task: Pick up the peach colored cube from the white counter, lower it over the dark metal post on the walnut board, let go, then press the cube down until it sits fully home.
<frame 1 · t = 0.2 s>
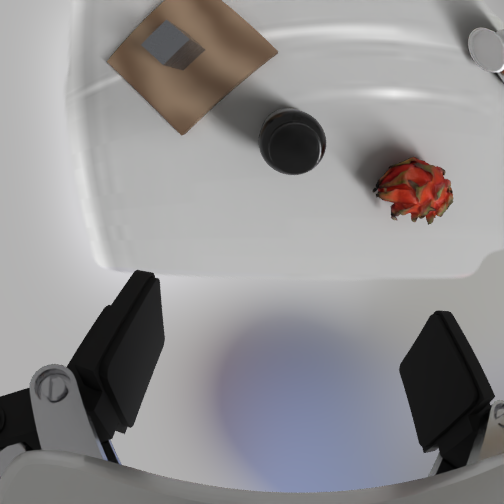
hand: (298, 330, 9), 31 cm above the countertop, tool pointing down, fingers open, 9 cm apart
spread jar: (493, 58, 24), on the countertop
walnut board: (187, 52, 30), on the countertop
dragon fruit: (403, 182, 36), on the countertop
metal post: (175, 46, 26), on the walnut board, point 5 cm above the countertop
supplement bottle: (288, 133, 35), on the countertop
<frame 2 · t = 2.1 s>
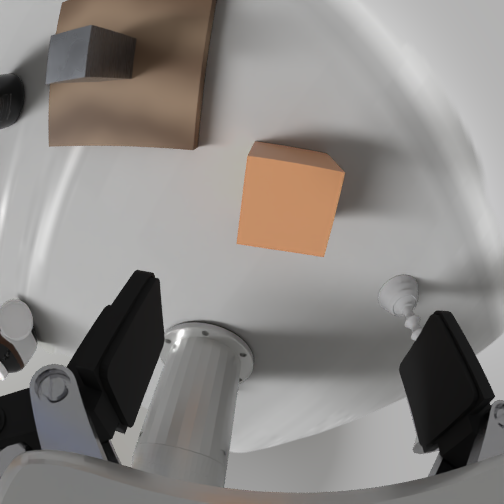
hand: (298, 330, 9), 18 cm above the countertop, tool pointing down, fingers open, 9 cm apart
spread jar: (23, 317, 39), on the countertop
walnut board: (123, 61, 20), on the countertop
metal post: (93, 57, 16), on the walnut board, point 5 cm above the countertop
supplement bottle: (10, 99, 21), on the countertop
chalice: (398, 292, 30), on the countertop
peach colored cube: (285, 181, 25), on the countertop
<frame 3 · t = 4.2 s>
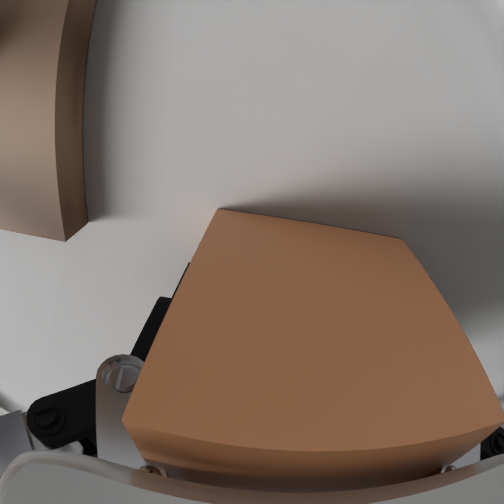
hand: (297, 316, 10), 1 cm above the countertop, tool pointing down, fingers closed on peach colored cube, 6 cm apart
peach colored cube: (296, 301, 11), on the countertop, touching gripper
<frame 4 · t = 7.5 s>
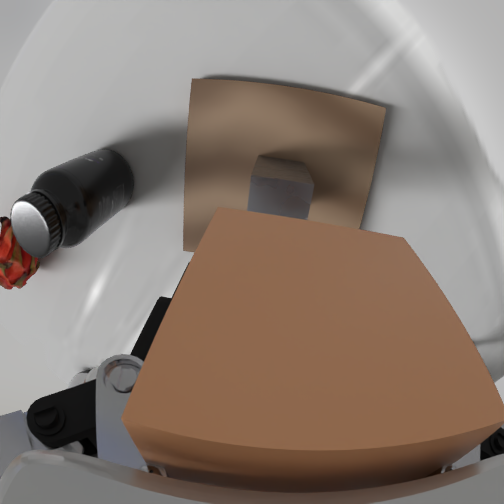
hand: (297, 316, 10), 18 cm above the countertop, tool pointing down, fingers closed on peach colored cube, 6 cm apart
spread jar: (104, 377, 44), on the countertop
walnut board: (278, 176, 25), on the countertop
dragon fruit: (29, 240, 31), on the countertop
metal post: (278, 192, 21), on the walnut board, point 5 cm above the countertop
supplement bottle: (107, 179, 27), on the countertop
peach colored cube: (297, 300, 10), point 17 cm above the countertop, touching gripper
when the fingers open (4 cm above the countertop, at t = 10.6 s): peach colored cube drops 1 cm, resting on metal post.
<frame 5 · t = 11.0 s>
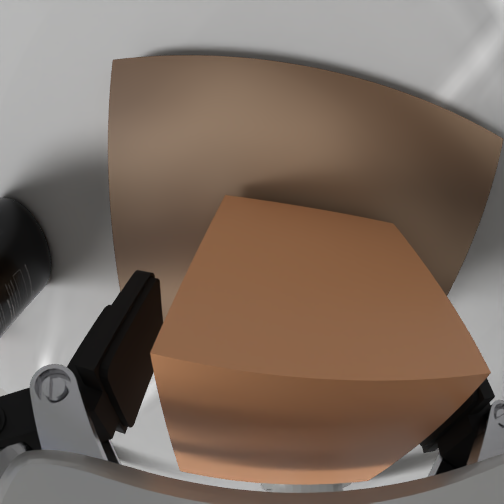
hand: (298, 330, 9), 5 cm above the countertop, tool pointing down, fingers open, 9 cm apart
walnut board: (293, 256, 13), on the countertop
supplement bottle: (21, 241, 15), on the countertop
peach colored cube: (297, 281, 11), point 2 cm above the countertop, touching metal post
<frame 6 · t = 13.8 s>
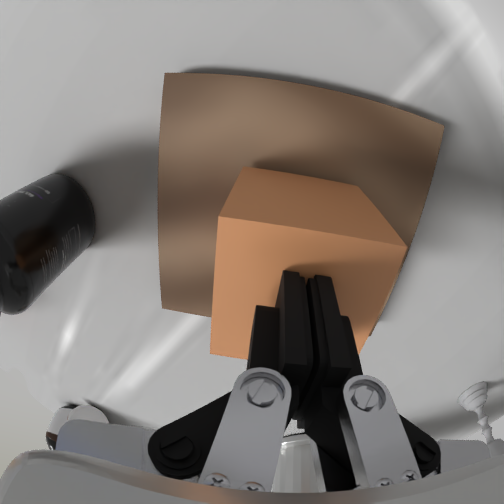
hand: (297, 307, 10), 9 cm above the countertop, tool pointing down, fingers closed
spread jar: (88, 412, 37), on the countertop
walnut board: (289, 215, 18), on the countertop
supplement bottle: (65, 211, 20), on the countertop
chalice: (472, 392, 28), on the countertop
peach colored cube: (292, 228, 16), point 2 cm above the countertop, touching gripper, metal post
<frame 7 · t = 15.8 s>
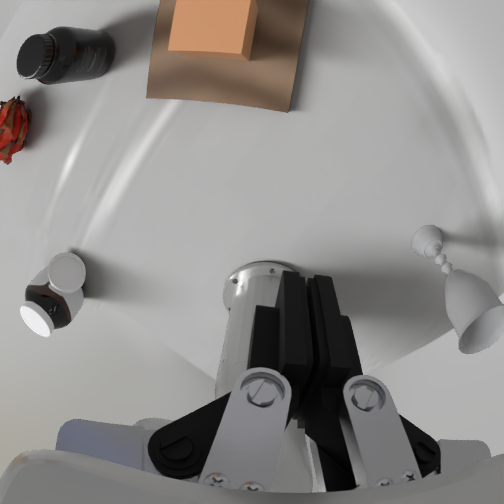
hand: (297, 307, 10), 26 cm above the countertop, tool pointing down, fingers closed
spread jar: (69, 273, 46), on the countertop
walnut board: (226, 36, 25), on the countertop
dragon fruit: (21, 124, 31), on the countertop
supplement bottle: (95, 55, 26), on the countertop
chalice: (426, 240, 36), on the countertop
peach colored cube: (223, 32, 23), point 2 cm above the countertop, touching metal post
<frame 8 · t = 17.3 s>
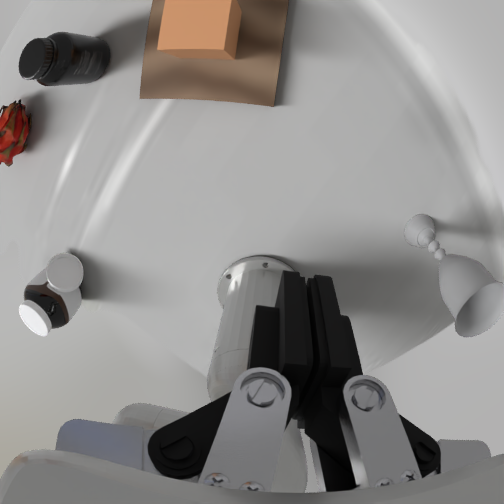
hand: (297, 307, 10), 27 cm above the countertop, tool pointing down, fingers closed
spread jar: (68, 274, 46), on the countertop
walnut board: (213, 38, 27), on the countertop
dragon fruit: (22, 128, 33), on the countertop
supplement bottle: (92, 60, 28), on the countertop
chalice: (419, 229, 37), on the countertop
peach colored cube: (210, 34, 25), point 2 cm above the countertop, touching metal post
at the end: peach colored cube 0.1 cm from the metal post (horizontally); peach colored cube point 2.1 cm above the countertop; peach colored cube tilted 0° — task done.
